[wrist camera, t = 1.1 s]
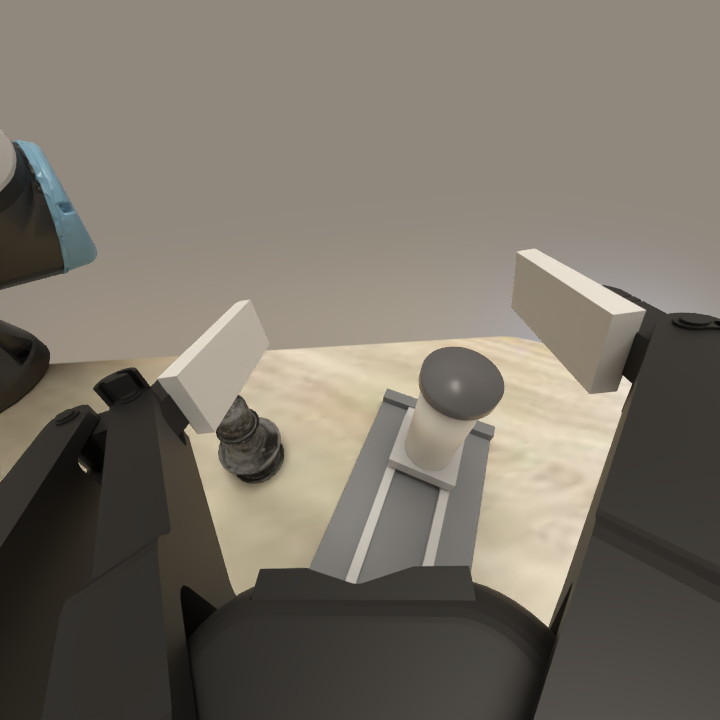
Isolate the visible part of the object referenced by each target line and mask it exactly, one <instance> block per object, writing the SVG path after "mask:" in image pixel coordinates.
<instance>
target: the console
mask: <svg viewBox="0 0 720 720" xmlns="http://www.w3.org/2000/svg"><path fill="white" fill-rule="evenodd" d="M417 401H418V399H415V398H413V397H410V396H407V395H404V394H401V393H399V392H396V391H393V390H390V389H387V390H386V392H385V395H384V398H383V402H382V405H381V407H380V409H379V412H378V414H377V416H376V418H375V421H374V423H373V425H372V427H371V430H370V432H369V434H368V437H367V439H366V441H365V443H364V446H363V448H362V450H361V452H360V455H359V457H358V459H357V462H356V464H355V466H354V468H353V471H352V473H351V475H350V477H349V480H348V482H347V484H346V487H345V489H344V491H343V493H342V496H341V498H340V500H339V502H338V505H337V507H336V509H335V512H334V514H333V516H332V518H331V521H330V523H329V525H328V527H327V530H326V532H325V534H324V537H323V539H322V541H321V543H320V546H319V548H318V550H317V552H316V555H315V557H314V559H313V562H312V564H311V566H310V568H309V569H311V570H314V571H317V572H320V573H323V574H326V575H329V576H332V577H335V578H338V579H341V580H344V581H347V582H350V583H354V584H360V583H364V582H367V581H370V580H373V579H376V578H379V577H382V576H385V575H389V574H392V573H395V572H398V571H401V570H404V569H407V568H410V567H413V566H469V568H470V573H471V567H472V561H473V554H474V547H475V540H476V533H477V526H478V520H479V513H480V506H481V499H482V492H483V485H484V479H485V472H486V465H487V458H488V451H489V444H490V440H491V439H492V438H493V437H494V430H495V427H494V426H491V425H489V424H486V423H483V422H480V421H477V422H476V424H475V425H474V427H473V428H472V430H471V431H470V433H469V434H468V436H467V437H466V438H465V441H464V446H463V451H462V455H461V460H460V465H459V470H458V475H457V480H456V485H455V487H454V488H453V489H452V491H451V492H450V491H447V490H445V489H442V488H440V487H438V486H435V485H433V484H431V483H428V482H426V481H424V480H421V479H419V478H416V477H414V476H412V475H409V474H407V473H405V472H402V471H400V470H398V469H395V468H393V467H390V466H388V461H389V457H390V455H391V452H392V449H393V447H394V444H395V441H396V438H397V436H398V433H399V430H400V428H401V425H402V422H403V419H404V417H405V414H407V415H410V416H412V417H413V414H414V410H415V407H416V404H417Z"/></svg>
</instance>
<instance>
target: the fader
mask: <svg viewBox="0 0 720 720" xmlns="http://www.w3.org/2000/svg"><path fill="white" fill-rule="evenodd" d="M419 387H420V395H419V398H418V401H417V404H416V407H415V410H414V414H413V417H412V416H410V415H407V414H405V417H404V419H403V422H402V425H401V428H400V430H399V433H398V436H397V438H396V441H395V444H394V447H393V449H392V452H391V455H390V457H389V461H388V466H390V467H393V468H395V469H398V470H400V471H402V472H405V473H407V474H409V475H412V476H414V477H416V478H419V479H421V480H424V481H426V482H428V483H431V484H433V485H435V486H438V487H440V488H442V489H445V490H447V491H450V492H451V491H452V489H453V488H454V487H455V485H456V480H457V475H458V470H459V465H460V460H461V455H462V451H463V446H464V441H465V438H466V437H467V436H468V434H469V433H470V431H471V430H472V428H473V427H474V425H475V424H476V422H477V421H478V419H480V418H483V417H485V416H487V415H488V414H490V413H491V412H492V411H493V410H494V408H495V407H496V405H497V404H498V403H499V401H500V400H501V398H502V396H503V393H504V381H503V378H502V375H501V373H500V372H499V370H498V368H497V367H496V366H495V365H494V364H493V363H492V362H491V361H490V360H489V359H488V358H486V357H485V356H483V355H481V354H480V353H478V352H475V351H473V350H470V349H466V348H462V347H445V348H441V349H438V350H436V351H434V352H432V353H431V354H429V355H428V356H427V357H426V359H425V360H424V362H423V365H422V368H421V372H420V375H419Z"/></svg>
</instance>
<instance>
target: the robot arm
mask: <svg viewBox="0 0 720 720" xmlns="http://www.w3.org/2000/svg"><path fill="white" fill-rule="evenodd" d="M96 256H97V249H96V247H95V244H94V243H93V241H92V239H91V237H90V235H89V233H88V232H87V230H86V228H85V226H84V225H83V223H82V221H81V219H80V217H79V215H78V214H77V212H76V210H75V208H74V206H73V205H72V203H71V201H70V199H69V197H68V196H67V194H66V192H65V190H64V189H63V187H62V185H61V183H60V181H59V179H58V178H57V176H56V174H55V172H54V171H53V169H52V167H51V165H50V164H49V162H48V160H47V158H46V156H45V155H44V153H43V151H42V150H41V148H40V147H39V146H37V145H36V144H34V143H32V142H23V141H20V140H16V141H13V142H11V141H10V140H9V138H8V137H7V136H6V135H5V134H4V132H3V131H2V130H1V129H0V290H2V289H5V288H9V287H13V286H17V285H21V284H24V283H28V282H32V281H35V280H40V279H43V278H47V277H50V276H55V275H58V274H65V273H67V272H69V270H72V269H75V268H77V267H80V266H83V265H86V264H89V263H91V262H93V261H94V260H95V259H96ZM512 309H513V310H514V311H515V312H516V313H517V314H518V315H519V316H520V317H521V319H522V320H523V321H524V322H525V323H526V324H527V325H528V326H529V327H530V328H531V330H532V331H533V332H534V333H535V334H536V335H537V336H538V338H539V339H541V341H542V342H543V343H544V344H545V345H546V346H547V347H548V349H549V350H550V351H551V352H552V353H553V354H554V355H555V356H556V357H557V359H558V360H559V361H560V362H561V363H562V364H563V365H564V366H565V367H566V369H567V370H568V371H569V372H570V373H571V374H572V375H573V376H574V377H575V379H576V380H577V381H578V382H579V383H580V384H581V385H582V386H583V387H584V388H585V390H586V391H587V392H588V393H589V394H595V393H605V392H615V391H617V389H618V387H619V384H620V381H621V378H622V376H624V377H626V378H627V379H628V380H629V381H630V382H631V383H632V386H631V389H630V391H629V394H628V396H627V399H626V401H625V404H624V406H623V409H622V411H621V412H622V414H621V417H620V420H619V423H618V426H617V429H616V432H615V435H614V438H613V441H612V444H611V447H610V450H609V453H608V456H607V459H606V462H605V465H604V468H603V471H602V474H601V477H600V480H599V483H598V486H597V489H596V492H595V494H594V497H593V500H592V503H591V506H590V509H589V512H588V515H587V518H586V521H585V524H584V527H583V530H582V533H581V536H580V539H579V542H578V545H577V548H576V551H575V554H574V557H573V560H572V563H571V566H570V569H569V572H568V575H567V578H566V580H565V583H564V586H563V589H562V592H561V594H560V597H559V600H558V602H557V605H556V608H555V610H554V613H553V616H552V619H551V622H550V625H549V627H547V626H546V625H545V624H544V623H542V622H541V621H540V620H539V619H538V618H537V617H536V616H534V615H533V614H532V613H531V612H529V611H528V610H527V609H525V608H524V607H523V606H521V605H520V604H518V603H517V602H516V601H514V600H512V599H510V598H509V597H507V596H505V595H503V594H502V593H500V592H498V591H496V590H493V589H491V588H489V587H486V586H484V585H481V584H477V583H474V582H472V577H471V573H470V568H469V566H413V567H410V568H407V569H404V570H401V571H398V572H395V573H392V574H389V575H385V576H382V577H379V578H376V579H373V580H370V581H367V582H364V583H360V584H354V583H350V582H347V581H344V580H341V579H338V578H335V577H332V576H329V575H326V574H323V573H320V572H317V571H314V570H311V569H308V568H287V569H260V571H259V574H258V578H257V581H256V584H255V587H252V588H250V589H248V590H246V591H244V592H242V593H240V594H239V595H237V596H236V595H235V593H234V591H233V589H232V587H231V584H230V581H229V577H228V574H227V570H226V567H225V563H224V559H223V556H222V552H221V549H220V545H219V542H218V538H217V535H216V531H215V528H214V524H213V521H212V517H211V514H210V510H209V507H208V503H207V500H206V496H205V492H204V489H203V485H202V482H201V478H200V475H199V471H198V468H197V464H196V461H195V457H194V454H193V450H192V447H191V443H190V440H189V437H188V436H187V434H186V433H185V432H184V429H185V428H186V427H187V425H188V424H189V423H190V425H191V426H192V428H193V429H194V430H195V432H196V433H197V434H201V433H211V432H215V431H216V429H217V428H218V426H219V425H220V423H221V421H222V420H223V418H224V416H225V415H226V413H227V412H228V410H229V408H230V407H231V405H232V404H233V402H234V400H235V399H236V397H237V396H238V394H239V392H240V391H241V389H242V388H243V386H244V384H245V383H246V381H247V379H248V378H249V376H250V375H251V373H252V371H253V370H254V368H255V367H256V365H257V363H258V362H259V360H260V359H261V357H262V355H263V354H264V352H265V351H266V349H267V347H268V346H269V342H268V340H267V337H266V335H265V333H264V330H263V328H262V326H261V323H260V321H259V319H258V316H257V314H256V312H255V310H254V307H253V305H252V303H251V300H245V301H240V302H236V303H235V305H233V306H232V307H231V308H230V309H229V310H228V311H227V312H226V313H225V314H224V315H223V316H222V317H221V318H220V319H219V320H218V321H217V322H215V323H214V324H213V326H211V327H210V329H208V330H207V331H206V332H205V333H204V334H203V335H202V336H201V337H200V338H199V339H198V340H197V341H196V342H195V343H194V344H193V345H191V346H190V347H189V348H188V349H187V350H186V351H185V352H184V353H183V354H182V355H181V356H180V357H179V358H178V359H177V360H176V361H175V362H174V363H173V364H172V365H170V366H169V367H168V368H167V369H166V370H165V371H164V372H163V373H162V374H161V375H160V376H159V377H158V378H157V381H156V382H155V383H154V384H153V385H152V386H151V387H150V386H149V384H148V383H147V382H146V381H145V379H144V378H143V377H142V375H141V374H140V373H139V371H138V370H137V369H136V368H126V369H123V370H120V371H117V372H115V373H113V374H111V375H109V376H107V377H105V378H104V379H102V380H101V381H99V382H98V383H97V384H96V385H95V386H94V388H93V390H94V391H95V392H96V393H97V394H98V395H99V396H100V397H101V398H102V399H103V401H104V402H105V403H106V404H107V405H108V406H109V407H110V408H109V411H106V412H103V413H100V414H97V413H96V412H95V411H94V410H93V409H92V408H91V407H90V406H89V405H81V406H77V407H74V408H72V409H67V410H65V411H63V412H62V413H60V414H58V415H57V416H56V417H55V418H54V419H53V420H51V421H50V422H49V423H48V424H47V425H46V426H45V427H44V429H43V430H42V431H41V432H40V434H39V435H38V436H37V437H36V439H35V440H34V441H33V442H32V444H31V445H30V446H29V447H28V449H27V450H26V451H25V452H24V454H23V455H22V456H21V458H20V459H19V460H18V461H17V463H16V464H15V465H14V466H13V468H12V469H11V470H10V471H9V473H8V474H7V475H6V476H5V478H4V479H3V480H2V481H1V483H0V720H720V319H718V318H715V317H712V316H709V315H702V314H696V313H670V314H666V313H665V312H663V311H661V310H659V309H657V308H655V307H653V306H651V305H649V304H647V303H645V302H644V301H643V302H641V300H640V299H638V298H636V297H634V296H633V297H632V296H631V295H630V294H628V293H626V292H624V291H623V290H621V289H617V288H614V287H610V286H606V285H600V284H598V283H596V282H594V281H593V280H591V279H589V278H587V277H585V276H583V275H582V274H580V273H578V272H576V271H574V270H573V269H571V268H569V267H567V266H565V265H563V264H562V263H560V262H558V261H556V260H555V259H553V258H551V257H549V256H547V255H545V254H544V253H542V252H540V251H538V250H536V249H530V250H523V251H518V252H517V253H516V264H515V275H514V286H513V297H512ZM49 361H50V352H49V350H48V348H47V347H46V345H44V344H43V343H42V342H41V341H39V340H38V339H37V338H36V337H35V336H34V335H32V334H31V333H29V332H27V331H25V330H23V329H21V328H18V327H16V326H14V325H11V324H9V323H7V322H4V321H2V320H0V411H2V410H4V409H5V408H7V407H8V406H10V405H11V404H13V403H14V402H16V401H17V400H18V399H20V398H21V397H22V396H23V395H25V394H26V393H27V392H28V391H29V390H30V389H31V388H32V387H33V386H34V385H35V384H36V383H37V382H38V381H39V380H40V378H41V377H42V376H43V374H44V373H45V371H46V369H47V367H48V364H49ZM78 462H79V463H80V464H81V465H82V466H84V467H85V468H86V469H87V472H86V473H85V472H84V471H83V470H82V469H81V467H80V466H79V463H78Z"/></svg>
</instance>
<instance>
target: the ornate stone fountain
mask: <svg viewBox="0 0 720 720" xmlns="http://www.w3.org/2000/svg"><path fill="white" fill-rule="evenodd" d="M216 434H217V437H218V439H219V440H220V441H221V442H220V445H219V451H218V455H219V460H220V462H221V464H222V465H223V467H224V468H225V469H227V470H228V471H229V472H231V473H234V474H236V475H237V477H238V478H240V479H241V480H242V481H244V482H247V483H260V482H264V481H266V480H268V479H270V478H271V477H272V476H273V475H275V474H276V472H277V471H278V470H279V469H280V467H281V465H282V463H283V459H284V449H283V446H282V444H281V436H280V432H279V430H278V428H277V426H276V425H275V424H274V423H273V422H271V421H270V420H268V419H265V418H262V417H258V415H257V413H256V412H255V411H253V410H252V409H249V408H248V406H247V404H246V402H245V400H244V399H243V398H242V397H241V396H239V395H238V396H237V397H236V399H235V400H234V402H233V404H232V405H231V407H230V408H229V410H228V412H227V413H226V415H225V416H224V418H223V420H222V421H221V423H220V425H219V426H218V428H217V429H216Z"/></svg>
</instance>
